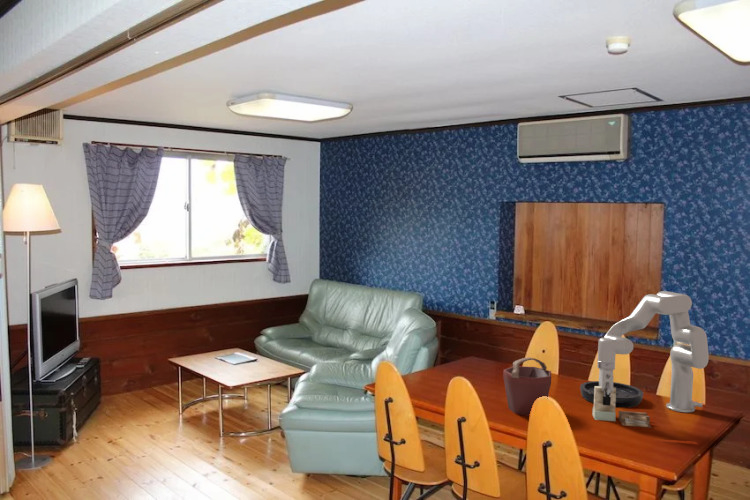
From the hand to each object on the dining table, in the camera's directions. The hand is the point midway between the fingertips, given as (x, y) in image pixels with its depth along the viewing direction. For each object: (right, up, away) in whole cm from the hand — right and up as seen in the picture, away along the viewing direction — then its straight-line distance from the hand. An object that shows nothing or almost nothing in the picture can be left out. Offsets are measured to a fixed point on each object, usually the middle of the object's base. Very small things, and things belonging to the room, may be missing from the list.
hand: (604, 401), depth 288 cm
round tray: (+15, -7, +32) cm, 36 cm away
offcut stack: (+11, -8, -9) cm, 16 cm away
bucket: (-33, -7, +12) cm, 36 cm away
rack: (+11, -9, -6) cm, 16 cm away
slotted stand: (0, -8, +1) cm, 8 cm away
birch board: (0, -7, 0) cm, 7 cm away
